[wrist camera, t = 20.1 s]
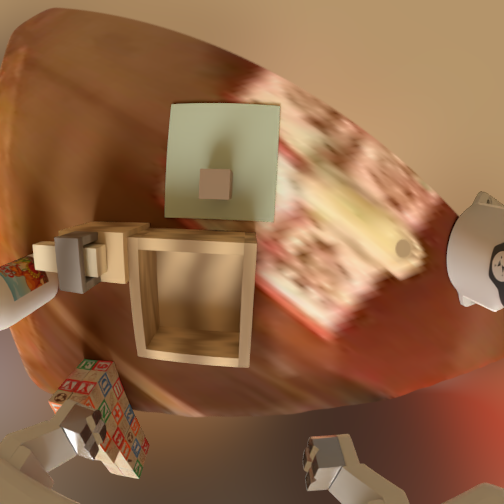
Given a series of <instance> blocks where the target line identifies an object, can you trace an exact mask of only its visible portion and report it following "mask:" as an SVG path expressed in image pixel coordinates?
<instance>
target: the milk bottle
mask: <svg viewBox="0 0 504 504" xmlns="http://www.w3.org/2000/svg"><path fill="white" fill-rule="evenodd" d="M58 286H59V280H58V274H57V273H56V272H48V271H41V270H35V264H34V255H33V254H31V255H28V256H25V257H23V258H20V259H18V260H15V261H13V262H10V263H8V264H5V265H3V266H1V267H0V331H1V330H4V329H6V328H8V327H10V326H12V325H13V324H15V323H17V322H18V321H20V320H21V319H23V318H24V317H26V316H27V315H29V314H30V313H32V312H33V311H35V310H36V309H38V308H39V307H41V306H42V305H44V304H45V303H47V302H48V301H50V300H51V299H53V298H54V297H55V295H56V293H57V291H58Z"/></svg>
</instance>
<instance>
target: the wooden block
mask: <svg viewBox="0 0 504 504" xmlns="http://www.w3.org/2000/svg"><path fill="white" fill-rule="evenodd" d="M33 255H34V264H35V270H41V271H48V272H56V273H58V272H57V263H56V253H55V242H51V241H42V242H39V243H36V244H33ZM83 256H84V268H85V276H90V277H99V276H101V275H103V274H104V273H106V272H107V264H106V247H105V244H86V245H83Z"/></svg>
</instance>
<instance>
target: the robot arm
mask: <svg viewBox="0 0 504 504" xmlns="http://www.w3.org/2000/svg"><path fill="white" fill-rule="evenodd" d="M447 270H448V274H449V278H450V280H451V282H452V284H453V286H454V287H455V288H456V289H457V291H458V293H459V299H460V303H461V305H463V306H466V307H467V306H470V305H473V304H475V303H477V304H479V305H481V306H483V307H485V308H487V309H489V310H491V311H494V312H496V311H497V310H500V309H502V308H504V205H503V204H501V203H500V202H499V201H497V200H496V199H494V198H493V197H491V196H490V195H489V194H487V193H485V192H482V191H481V192H479V193H478V195H477V197H476V198H475V200H474V202H473V204H472V205H471V206H470V207H469V208H468V209H466V210H465V211H464V212H463V213H462V214H461V215H460V217H459V218H458V220H457V221H456V223H455V225H454V227H453V230H452V232H451V235H450V239H449V243H448V249H447ZM101 417H102V414H101V412H100V410H97V409H94V408H91V407H89V406H86V405H83V404H81V403H78V402H75V401H73V400H70V399H68V400H66V401H65V402H64V403H63V404H62V406H61V407H60V408H59V410H58V411H57V412H56V413H55V415H54V416H53V417H52V419H51V420H50V421H44V422H41V423H39V424H36V425H33V426H31V427H28V428H25V429H22V430H19V431H16V432H13V433H10V434H7V435H6V437H5V438H4V439H3V440H2V442H1V443H0V504H80V503H78V502H76V501H73V500H71V499H69V498H67V497H65V496H63V495H61V494H59V493H57V492H55V491H53V490H52V489H51V488H52V486H53V485H54V481H53V479H52V478H51V477H50V476H49V475H48V473H47V472H49V471H51V470H53V469H54V468H56V467H58V466H60V465H61V464H63V463H65V462H66V461H68V460H70V459H71V458H73V457H75V456H76V455H80V456H83V457H85V458H88V459H91V460H94V459H95V457H96V455H97V453H98V452H99V447H98V445H99V444H101V443H103V442H104V440H105V438H106V433H107V430H106V425H105V423H104V422H103V421H102V420H101ZM303 467H304V470H305V471H306V472H307V475H306V477H305V480H306V487H307V491H313V490H325V489H329V491H330V492H331V493H332V494H333V495H334V496H335V497H336V498H337V499H338V500H339V501H340V502H341V503H342V504H409V501H408V499H407V497H406V494H405V492H404V491H403V490H401V489H400V488H398V487H397V486H395V485H394V484H392V483H391V482H389V481H388V480H386V479H385V478H383V477H382V476H380V475H379V474H377V473H376V472H374V471H373V470H372V469H370V468H369V467H367V466H366V465H365V464H360V463H359V460H358V457H357V454H356V451H355V449H354V445H353V443H352V440H351V437H350V435H349V434H343V435H330V436H316V437H310V438H309V440H308V447H307V448H306V449H305V451H304V455H303ZM442 504H504V489H503V488H500V487H498V486H495V485H493V484H489V483H482V484H479V485H477V486H475V487H473V488H472V489H470V490H468V491H466V492H464V493H462V494H460V495H458V496H457V497H454V498H452V499H450V500H449V501H446V502H444V503H442Z"/></svg>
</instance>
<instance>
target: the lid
mask: <svg viewBox="0 0 504 504" xmlns="http://www.w3.org/2000/svg"><path fill="white" fill-rule="evenodd" d="M279 119H280V106H273V105H259V104H237V103H188V104H171V113H170V123H169V135H168V147H167V163H166V182H165V217H166V218H198V219H223V220H244V221H263V222H274V211H275V195H276V178H277V160H278V140H279Z"/></svg>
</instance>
